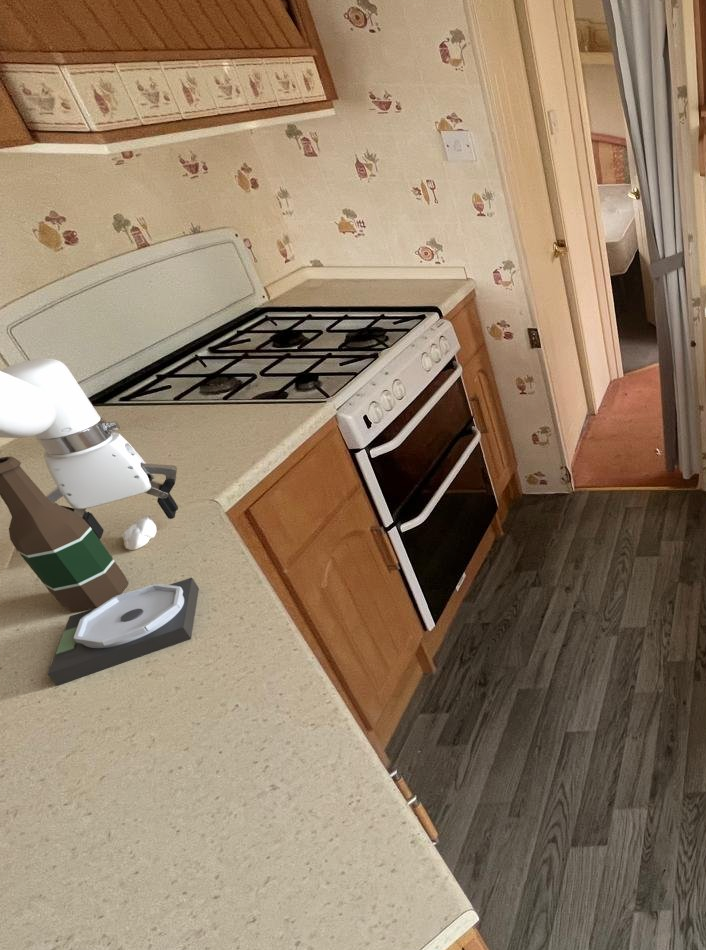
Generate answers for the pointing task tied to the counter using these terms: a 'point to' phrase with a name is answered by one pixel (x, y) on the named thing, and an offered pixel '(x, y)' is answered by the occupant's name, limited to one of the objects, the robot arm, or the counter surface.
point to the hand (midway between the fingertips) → (137, 525)
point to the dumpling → (139, 533)
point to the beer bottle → (58, 544)
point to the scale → (125, 629)
